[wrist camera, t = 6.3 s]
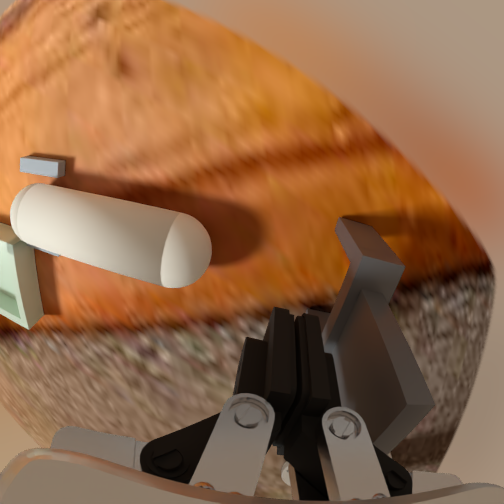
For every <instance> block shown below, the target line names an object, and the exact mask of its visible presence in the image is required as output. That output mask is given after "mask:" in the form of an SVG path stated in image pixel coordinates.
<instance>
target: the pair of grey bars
mask: <svg viewBox="0 0 504 504" xmlns="http://www.w3.org/2000/svg"><path fill="white" fill-rule="evenodd" d="M65 163H66V161H65V160H57V159H49V158H42V157H33V156H25V157H21V158H20V172H26V173H32V174H38V175H43V176H49V177H55V178H59V177H62V176H65ZM27 246H30V247H32V248H35V249H38V250H41V251H44V252H46V253H49V254H52V255H55V256H58V257H59V256H61V255H59V254H56V253H53V252H50V251H47V250H44V249H41V248H39V247H36V246H33V245H30V244H27Z"/></svg>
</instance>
